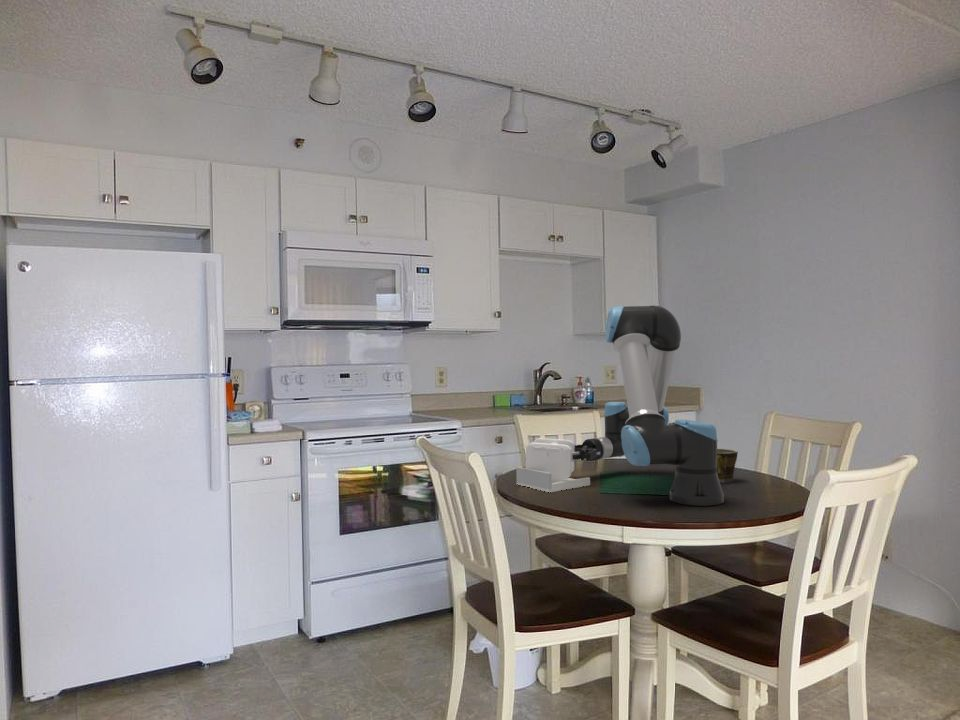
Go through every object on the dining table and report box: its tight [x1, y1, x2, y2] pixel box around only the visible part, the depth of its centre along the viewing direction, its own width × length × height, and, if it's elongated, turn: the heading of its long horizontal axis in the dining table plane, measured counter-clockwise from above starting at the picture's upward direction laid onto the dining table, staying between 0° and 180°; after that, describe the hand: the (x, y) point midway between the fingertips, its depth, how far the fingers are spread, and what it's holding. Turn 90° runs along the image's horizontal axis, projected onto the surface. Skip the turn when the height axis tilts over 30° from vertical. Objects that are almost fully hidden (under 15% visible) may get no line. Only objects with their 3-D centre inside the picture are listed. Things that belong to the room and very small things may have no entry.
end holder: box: [515, 466, 591, 493], centre depth 227 cm, size 16×18×6 cm
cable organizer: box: [525, 437, 576, 480], centre depth 227 cm, size 15×11×12 cm
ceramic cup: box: [717, 448, 738, 484], centre depth 229 cm, size 13×10×10 cm
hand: (550, 455), depth 227 cm, fingers closed on cable organizer, 12 cm apart
